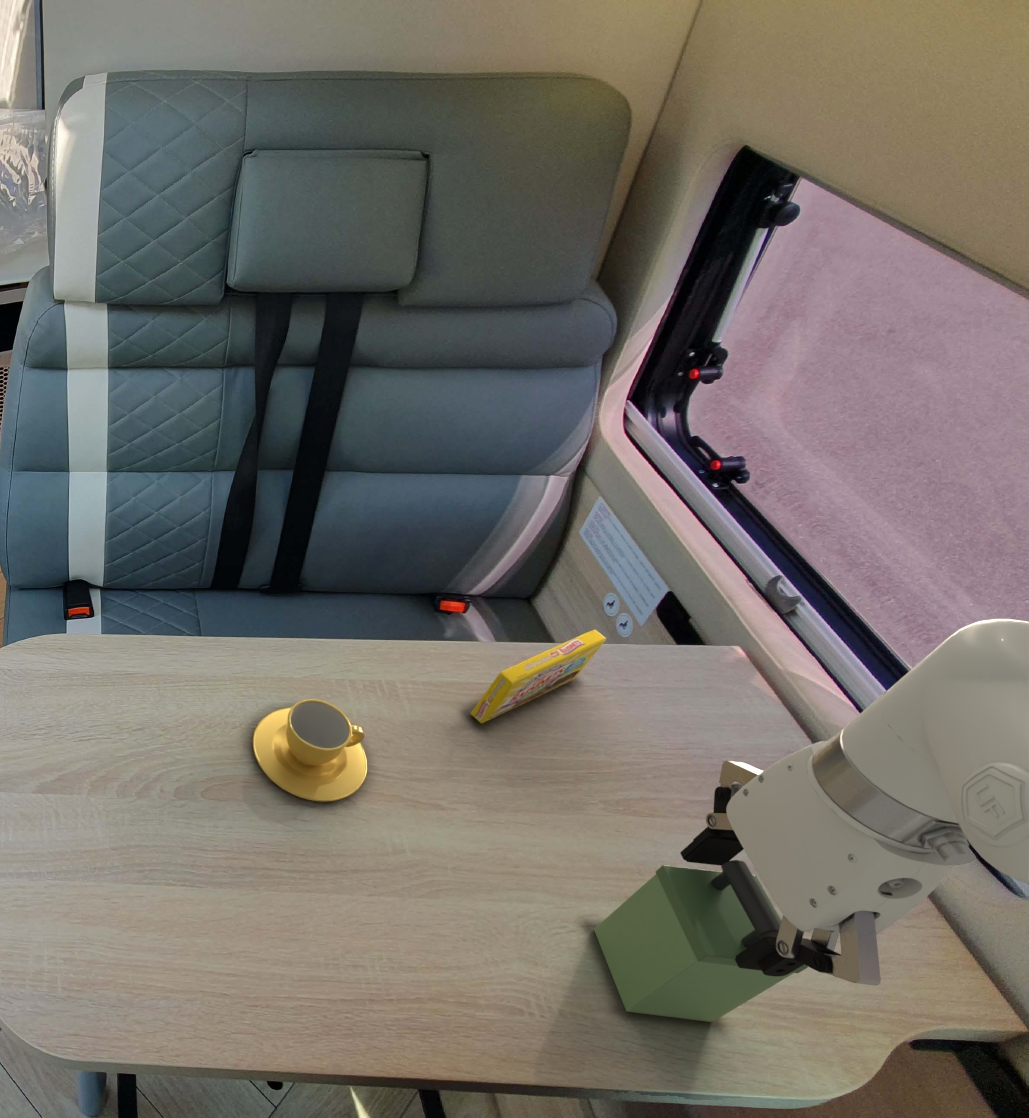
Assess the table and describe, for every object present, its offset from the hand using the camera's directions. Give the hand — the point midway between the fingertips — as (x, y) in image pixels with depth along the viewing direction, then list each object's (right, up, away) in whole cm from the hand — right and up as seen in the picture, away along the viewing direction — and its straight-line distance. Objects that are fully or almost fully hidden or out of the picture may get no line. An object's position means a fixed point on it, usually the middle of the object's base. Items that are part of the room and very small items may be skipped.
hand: (728, 909), depth 62 cm
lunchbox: (0, -9, +8) cm, 13 cm away
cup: (-24, +6, +25) cm, 35 cm away
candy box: (+3, +11, +31) cm, 33 cm away
